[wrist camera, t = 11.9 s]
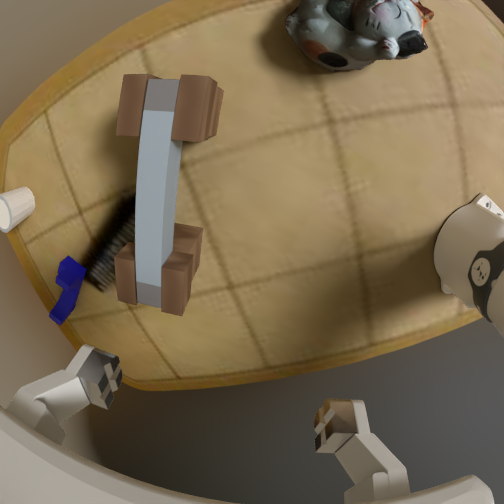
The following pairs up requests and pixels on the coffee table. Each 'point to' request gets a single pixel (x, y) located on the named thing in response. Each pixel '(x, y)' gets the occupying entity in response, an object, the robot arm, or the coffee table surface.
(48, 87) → the coffee table surface
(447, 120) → the coffee table surface
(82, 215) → the coffee table surface
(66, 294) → the cable clip
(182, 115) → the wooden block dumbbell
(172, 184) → the bed rail
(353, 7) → the lucky cat figurine
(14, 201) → the shot glass
